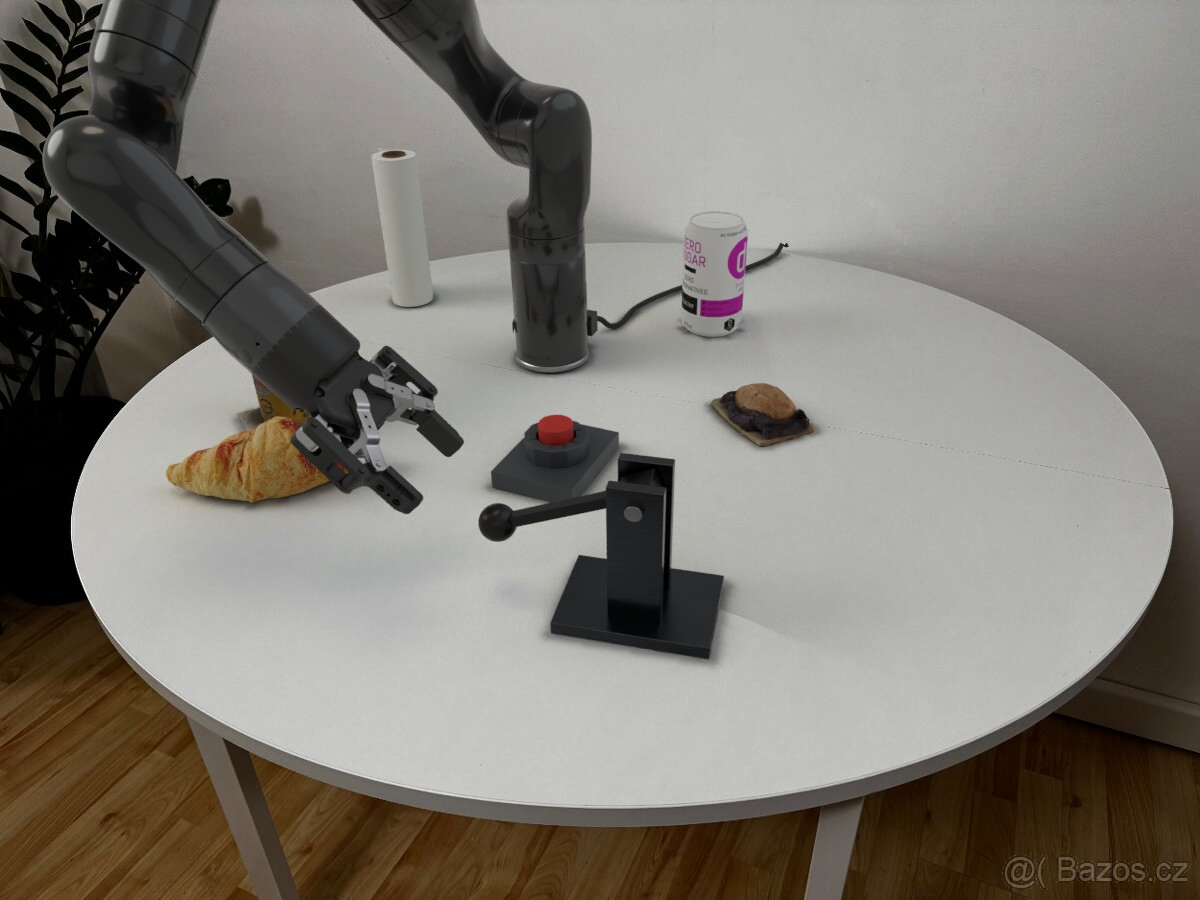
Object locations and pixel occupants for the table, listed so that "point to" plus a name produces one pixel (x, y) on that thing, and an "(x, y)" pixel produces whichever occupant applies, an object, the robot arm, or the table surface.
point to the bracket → (640, 575)
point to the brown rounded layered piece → (762, 414)
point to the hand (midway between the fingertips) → (437, 477)
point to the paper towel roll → (403, 226)
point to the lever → (549, 509)
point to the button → (555, 430)
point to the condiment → (269, 409)
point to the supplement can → (713, 273)
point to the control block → (555, 464)
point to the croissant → (250, 465)
